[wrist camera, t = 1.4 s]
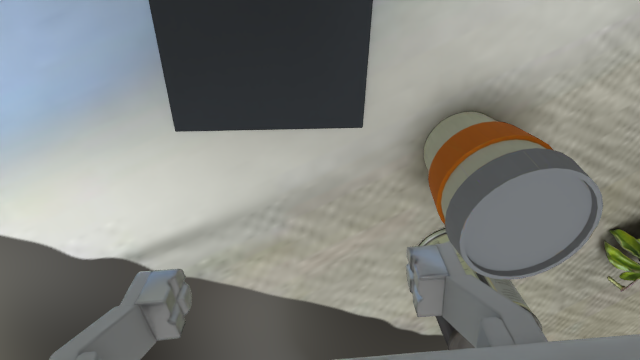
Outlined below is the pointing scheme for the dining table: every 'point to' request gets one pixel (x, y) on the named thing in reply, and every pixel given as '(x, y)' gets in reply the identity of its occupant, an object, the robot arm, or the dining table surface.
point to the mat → (264, 62)
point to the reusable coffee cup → (508, 196)
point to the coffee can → (500, 285)
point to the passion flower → (624, 257)
